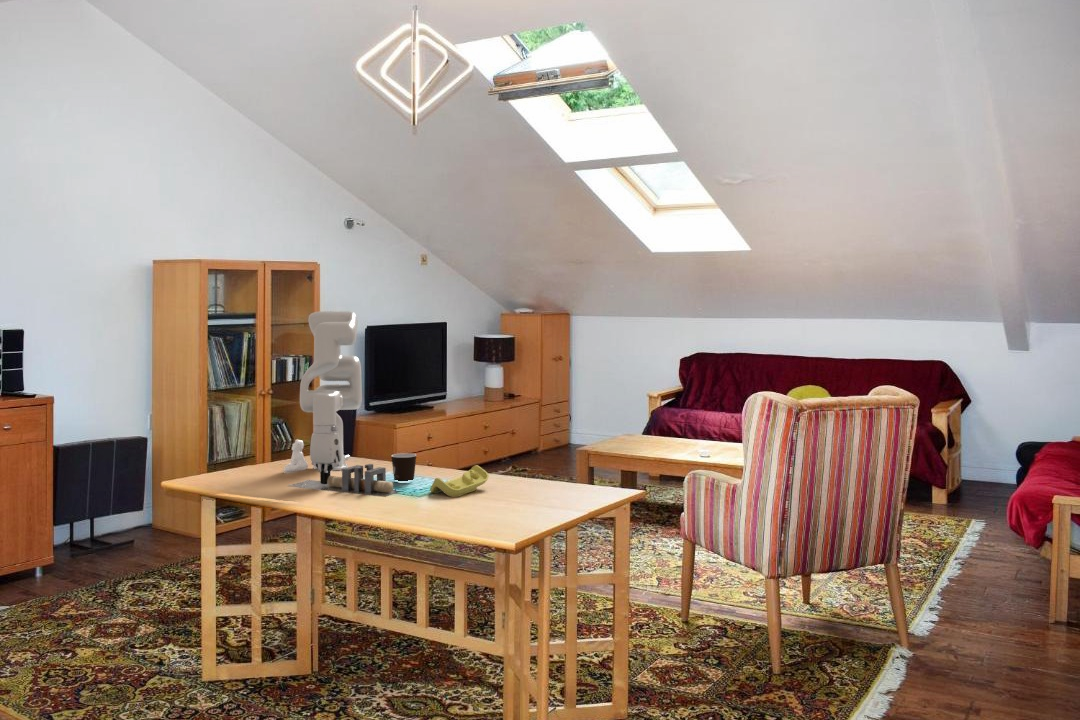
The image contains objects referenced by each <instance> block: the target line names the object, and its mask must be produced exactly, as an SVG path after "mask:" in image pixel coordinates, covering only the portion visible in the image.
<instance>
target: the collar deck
mask: <svg viewBox="0 0 1080 720" xmlns="http://www.w3.org/2000/svg"><path fill="white" fill-rule="evenodd" d="M364 469H366V470H364ZM386 471H387V470H386V467H383V466H379V467H374V463H368V464H364V465H360V464H356V465H352V466H348V467H347V468H344V469H342V470H341V477H342V488H339V487H329V486H328V484H321V480H313V479H307V480H303V481H300V482H296V483H293V484H288V485H287V487H290V488H298V489H299V488H300V489H308V490H309V489H310V490H318V491H319V490H320V491H327V492H329V491H330V492H336V493H345V494H355V495H364V496H373V497H383V498H384V497H385V498H386V497H390V496H392V495H395V494H399V493H401V492H403V491H396V490H392V492H391V493H386V492H376V491H374V480H375V478H374V476H376V480H377V481H386V478H387V477H386V473H387V472H386ZM353 473H354V474H353ZM352 474H353V478H354V489H351V478H352ZM361 479H365V490H361Z"/></svg>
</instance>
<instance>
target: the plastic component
mask: <svg viewBox="0 0 1080 720" xmlns="http://www.w3.org/2000/svg"><path fill="white" fill-rule="evenodd" d="M489 476H490V475H489V473H488V472H487V471H486V470H485V469H484V468H483V467H481V466H479V465H478V464H477V465H473V466H472V467H470V469H469V470H468V471H464V472H463V474H462V476H460V477H456V478H454V479H450V480H447V481H444V480H442V479H441V478H439V477H436V478H435V479H434V481H433V482H432V484H431V486H430V488H429V491H431V492H430V493H432V494H437V493H440V492H443V493H444V494H445V495H447V496H449V497H451V498H456V497H461V496H463V495H466V494H469V493H472V492H474V491H476V490H477V489H478V488H479V487H480V486H483V485H484V484H485V483H486V482H487V481H488V480H489V478H490V477H489Z"/></svg>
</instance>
